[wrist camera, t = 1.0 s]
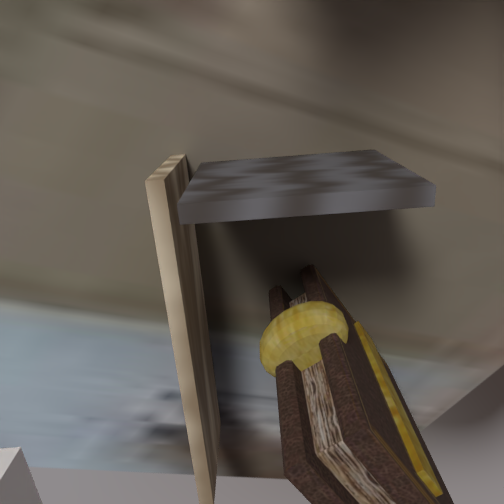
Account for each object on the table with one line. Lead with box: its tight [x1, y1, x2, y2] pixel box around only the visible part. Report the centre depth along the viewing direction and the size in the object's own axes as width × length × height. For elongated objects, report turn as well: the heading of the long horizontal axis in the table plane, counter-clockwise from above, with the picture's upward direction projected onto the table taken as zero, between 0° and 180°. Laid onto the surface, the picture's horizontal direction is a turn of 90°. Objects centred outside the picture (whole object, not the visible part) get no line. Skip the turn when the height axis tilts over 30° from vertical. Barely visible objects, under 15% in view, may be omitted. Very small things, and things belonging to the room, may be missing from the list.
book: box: [260, 265, 454, 504], centre depth 41 cm, size 22×8×25 cm, turn 36°
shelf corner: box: [145, 150, 436, 504], centre depth 44 cm, size 21×36×16 cm, turn 4°
